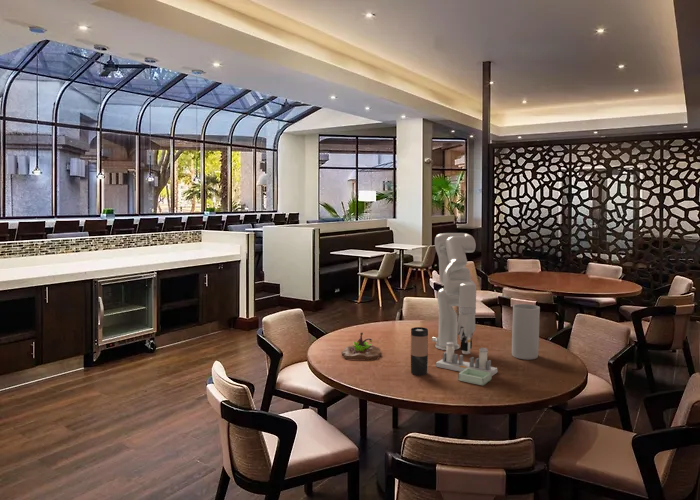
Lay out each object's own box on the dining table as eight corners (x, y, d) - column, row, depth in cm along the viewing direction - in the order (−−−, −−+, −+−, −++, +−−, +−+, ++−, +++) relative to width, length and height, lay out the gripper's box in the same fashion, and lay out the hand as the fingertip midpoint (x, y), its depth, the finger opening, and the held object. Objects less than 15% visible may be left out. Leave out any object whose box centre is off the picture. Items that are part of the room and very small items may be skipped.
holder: (435, 366, 246) (436, 354, 246) (444, 361, 253) (444, 349, 253) (489, 377, 231) (489, 364, 230) (497, 372, 238) (497, 359, 237)
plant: (382, 350, 275) (382, 328, 274) (380, 361, 255) (380, 338, 254) (344, 349, 277) (344, 328, 276) (339, 360, 258) (339, 337, 256)
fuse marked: (460, 353, 242) (461, 333, 241) (464, 351, 245) (464, 332, 244) (468, 354, 239) (468, 335, 238) (471, 352, 242) (472, 333, 241)
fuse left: (444, 362, 246) (445, 343, 245) (448, 360, 249) (448, 341, 248) (452, 363, 244) (452, 344, 243) (455, 361, 247) (455, 342, 246)
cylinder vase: (539, 360, 255) (541, 309, 252) (512, 359, 257) (514, 308, 255) (536, 353, 267) (537, 304, 265) (510, 352, 269) (511, 303, 267)
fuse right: (477, 368, 237) (477, 349, 236) (480, 366, 240) (481, 347, 239) (485, 370, 235) (485, 350, 234) (488, 368, 238) (488, 348, 237)
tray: (458, 380, 228) (458, 373, 227) (467, 374, 235) (467, 368, 235) (483, 385, 221) (483, 378, 221) (491, 379, 228) (491, 372, 228)
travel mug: (430, 371, 239) (430, 328, 237) (423, 376, 232) (424, 332, 230) (414, 369, 243) (415, 326, 241) (407, 373, 236) (408, 329, 234)
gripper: (467, 305, 248) (466, 343, 251) (451, 312, 235) (450, 352, 237) (482, 307, 244) (481, 346, 246) (467, 314, 231) (466, 355, 233)
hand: (466, 348), depth 242 cm, fingers closed on fuse marked, 3 cm apart
